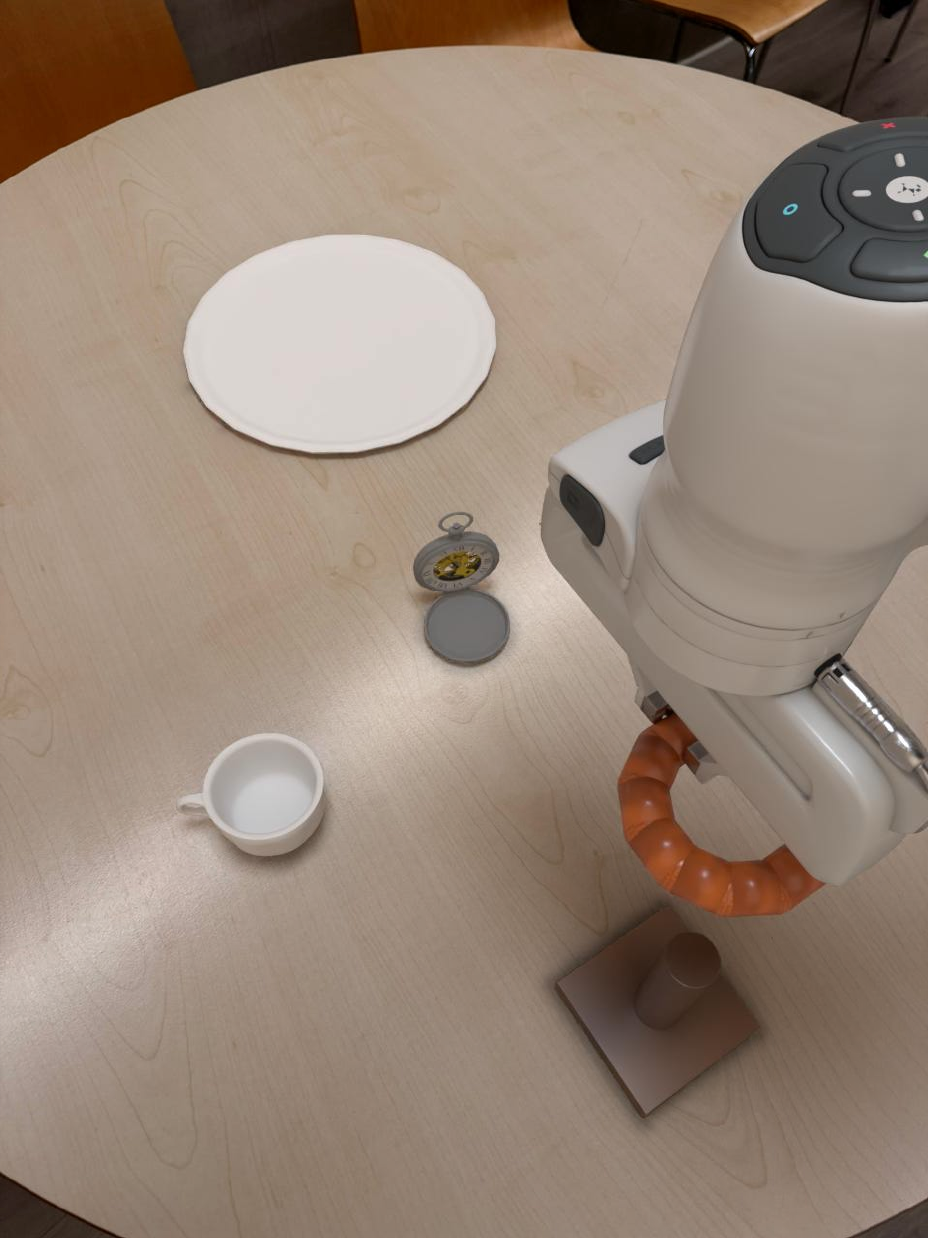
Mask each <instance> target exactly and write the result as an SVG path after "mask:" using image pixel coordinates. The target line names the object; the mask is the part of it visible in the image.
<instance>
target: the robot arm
mask: <svg viewBox="0 0 928 1238" xmlns="http://www.w3.org/2000/svg"><path fill="white" fill-rule="evenodd" d="M686 325H687V326H686V329H685V332H684V335H683V338H682V341H681V344H680V348H679V352H678V355H677V357H676V362H675V366H674V369H673V372H672V376H671V380H670V383H669V387H668V391H667V395H666V398H665V399H662V400H658V401H656V402H653V403H651V404H648V405H645V406H643V407H640V408H637V409H634V410H633V411H630V412H628V413H625V414H624V415H621V416H618V417H617V418H614V419H613V420H611V421H608V422H606V423H605V424H602V425H601V426H599V427H597V428H595V429H593V430H591V431H589V432H588V433H586V434H584V435H582V436H580V437H578V438H577V439H575V440H574V441H572V442H570V443H569V444H567V445H566V446H564V447H563V448H560V450H557V451H556V452H555V453H553V454H552V455H551V456H550V458H549V461H548V468H547V479H548V486H547V488H546V490H545V493H544V498H543V504H542V510H541V517H540V518H541V519H540V539H541V543H542V545H543V549H544V551H545V553H546V556H547V557H548V560H549V562H550V563H551V565H552V566H553V567H554V569H555V570H556V571H557V572H558V573H559V575H561V577H562V578H563V579H564V581H565V582H566V583H567V584H568V585H569V587H570V588H571V590H573V591H574V593H575V594H576V595H577V596H578V597H579V599H580V600H581V601H582V602H583V603H584V604H585V606H586V607H587V608H588V609H589V611H590V612H591V613H592V614H593V615H594V616H595V618H596V619H597V620H598V621H599V623H600V624H601V625H602V626H603V627H604V628H605V630H606V631H607V632H608V634H610V636H611V637H612V638H613V639H614V641H615V642H616V643H617V644H618V645H619V647H620V648H621V649H622V651H624V653H625V654H626V655H627V659H628V662H629V664H630V669H631V672H632V675H633V678H634V682H635V685H636V686H637V690H636V694H635V697H634V704H635V705H636V706H637V707H638V708H639V710H641V712H642V714H644V716H645V717H646V718H647V720H648V721H650V723H651V725H653V724H655V723H657V722H658V721H660V720H662V719H663V718H664V717H666V716H668V715H670V714H671V713H673V712H675V713H676V714H677V715H678V716H679V717H680V719H681V720H682V721H683V722H684V724H685V725H686V726H687V727H688V728H689V730H690V731H691V732H692V733H693V734H694V736H695V737H696V738H697V739H698V741H697V742H695V743H693V744H692V745H690V746H689V747H687V749H686V752H685V756H684V757H683V758H682V760H683V761H684V763H685V764H684V765H685V766H686V767H687V768H688V769H689V771H690V772H691V773H692V774H693V775H694V778H695V779H696V780H697V781H698V782H699V784H701V785H704V784H706V783H708V782H709V781H712V780H713V779H715V778H716V777H717V776H721V777H727V778H729V779H730V780H731V781H732V783H733V784H734V785H735V787H736V788H737V789H738V790H739V791H740V792H741V793H742V794H743V796H744V797H745V798H746V800H747V801H748V802H749V803H750V804H751V806H752V807H753V808H754V809H755V810H756V811H757V813H758V814H759V815H760V817H761V818H762V819H763V820H764V821H765V823H766V824H767V825H768V826H769V827H770V829H771V830H772V831H773V832H774V834H776V836H777V837H778V838H779V839H780V840H781V842H782V843H783V844H785V845H786V846H787V848H788V849H789V850H790V851H791V852H792V854H793V855H794V856H795V857H796V858H797V860H798V861H799V862H800V863H801V865H802V866H803V867H804V868H805V869H806V871H807V872H808V873H809V874H810V875H811V876H812V877H813V878H815V879H817V880H819V881H821V882H823V883H826V884H825V885H829V886H832V887H836V888H841V887H843V886H846V884H849V883H850V882H852V881H853V880H855V879H856V878H857V877H859V876H861V875H863V873H866V872H867V871H868V870H869V869H870V868H872V867H873V866H874V865H876V864H877V863H878V862H880V861H881V860H882V859H884V858H885V857H886V856H888V855H889V854H890V853H891V852H892V851H894V850H895V849H896V848H897V847H898V846H899V845H900V844H901V842H903V840H904V839H905V838H906V836H908V835H913V834H918V833H921V832H923V831H924V830H925V829H926V828H928V749H927V748H926V746H925V745H924V743H923V742H922V741H921V739H920V738H919V737H918V736H917V734H916V733H915V732H914V731H913V729H911V728H910V726H909V725H908V724H907V723H906V722H905V721H904V720H903V719H902V717H900V716H899V714H898V713H897V712H896V711H895V710H894V709H893V708H892V707H891V706H890V705H889V704H888V703H887V702H886V701H885V700H884V699H883V698H882V697H881V695H880V694H878V693H877V691H875V690H874V689H873V687H872V686H871V685H870V684H869V683H868V682H867V681H866V680H865V679H864V678H863V677H862V676H861V675H860V674H859V673H858V671H857V670H856V669H855V668H854V667H853V666H852V665H851V664H850V663H849V662H848V661H847V660H846V659H845V658H844V656H845V655H846V653H847V652H848V650H849V648H850V647H851V646H852V644H853V642H854V641H855V639H856V637H857V636H858V634H859V633H860V631H861V629H862V628H863V627H864V625H865V623H866V621H867V620H868V618H869V617H870V615H871V613H872V612H873V610H874V609H875V608H876V606H877V604H878V603H879V601H880V600H881V598H882V596H883V595H884V593H885V592H886V590H887V588H888V587H889V586H890V584H891V583H892V581H893V580H894V578H895V576H896V574H897V572H898V570H899V568H900V566H901V565H902V563H903V562H904V561H905V559H906V557H908V556H909V555H910V554H911V553H913V551H915V550H917V549H919V548H922V547H926V546H928V116H901V117H889V118H883V119H882V118H881V119H875V120H874V119H873V120H868V121H863V122H859V123H855V124H850V125H848V126H844V127H840V128H837V129H835V130H833V131H830V132H826V133H825V134H822V135H820V136H818V137H816V138H814V139H811V140H810V141H808V142H806V143H805V144H803V145H801V146H800V147H799V148H797V149H796V150H795V149H794V151H792V152H791V153H789V154H788V155H787V156H786V157H784V158H783V159H782V160H781V161H780V162H779V163H777V164H776V166H774V167H773V168H772V169H771V170H770V171H769V172H768V173H767V174H766V175H765V176H763V178H762V179H761V180H760V181H759V182H758V183H757V185H755V187H754V188H753V189H752V190H751V192H750V193H749V194H748V196H747V197H746V198H745V200H744V201H743V202H742V204H741V205H740V207H739V208H738V210H737V211H736V213H735V214H734V216H733V218H732V219H731V221H730V222H729V225H728V226H727V228H726V230H725V232H724V234H723V236H722V238H721V240H720V242H719V244H718V246H717V248H716V250H715V252H714V255H713V257H712V259H711V261H710V264H709V266H708V269H707V271H706V274H705V276H704V279H703V280H702V284H701V286H700V289H699V291H698V294H697V296H696V300H695V302H694V305H693V308H692V311H691V313H690V316H689V320H688V323H687V324H686Z"/></svg>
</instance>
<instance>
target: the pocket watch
mask: <svg viewBox="0 0 928 1238" xmlns="http://www.w3.org/2000/svg"><path fill="white" fill-rule="evenodd" d="M454 516H466V517H468V520H469V521H468V522H467V523H465V525H463V524H460V523H459V522H453V524H452V526H450V527H449V528H446V527H444V526H443V523H444V522H445V520H447V519H448V518H451V517H454ZM473 522H474V516H473V515H472V514H471V513H469V512H466V511H454V512H450V513H447V514H446V515H444V516H443V517H441V519H439V520H438V523H437V527H438V528H439V530H441V531H442V532H446V533H448V534H443V535H442V536H440V537H437V538H435V539H433V540H431V541H430V542H428V543H427V544H425V545H424V546H423V547H422V548H421V549H420V550H419V551H418V552H417V554H416V556H415V558H414V560H413V566H412V570H413V576H414V579H415V582H417V583H418V585H419V586H420V587H421V588H424V589H427V590H428V591H431V592H438V593H443V594H441V595H440V596H439V597H437V598H436V599H435V600H434V601H432V603H431V604H430V605H429V607H428V609H427V610H426V613H425V616H424V621H423V629H424V637H425V639H426V640H427V643H428V645H429V646H430V647H431V649H432V650H433V651H434V653H435V654H437V655H439V656H440V657H442V658H443V659H445V660H447V661H450V662H452V663H456V664H462V665H473V664H479V663H482V662H486V661H487V660H489V659H491V658H493V657H495V656H496V655H497V654H498V653H499V652H500V651H501V650H502V649H503V648H504V647H505V645H506V643H507V641H508V639H509V636H510V633H511V620H510V616H509V613H508V611H507V609H506V607H505V605H504V604H503V603H502V602H501V600H499V598H496V596H494V595H493V594H490V593H489V592H486V591H484V590H481V589H475V588H471V587H472V586H475V585H478V584H479V583H481V582H482V581H484V580H485V579H486V578H488V577H489V576H490V575H491V574H492V573H493V572H494V571H495V570H496V568H497V567H498V564H499V562H500V551H499V549H498V547H497V544H496V543H495V542H494V541H493V539H492V538H491V537H490V536H488V535H487V534H484V533H482V532H477V531H471V530H468V531H467V530H466V529H467V528H469V527H471V525H472V523H473ZM465 530H466V531H465ZM448 568H449V569H450V570H446V569H448Z"/></svg>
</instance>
